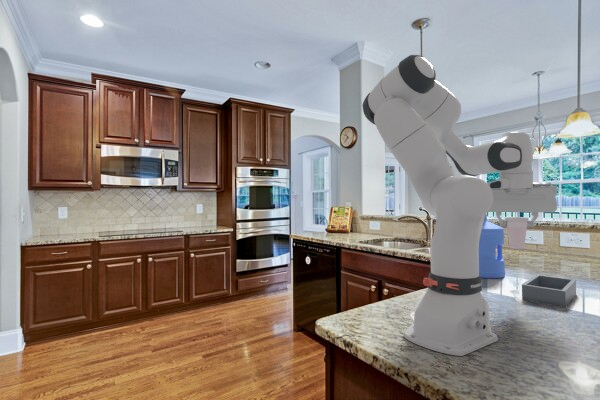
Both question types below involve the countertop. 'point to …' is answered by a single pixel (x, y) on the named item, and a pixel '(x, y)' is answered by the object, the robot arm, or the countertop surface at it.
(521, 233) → the smoothie
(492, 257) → the water jug
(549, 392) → the countertop surface
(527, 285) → the crate
